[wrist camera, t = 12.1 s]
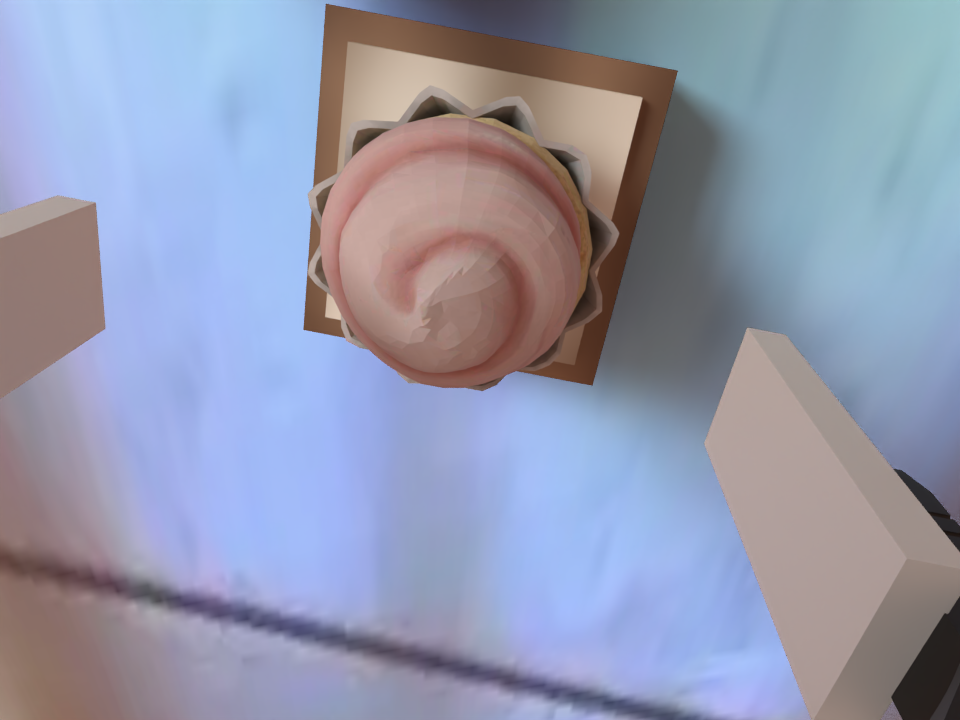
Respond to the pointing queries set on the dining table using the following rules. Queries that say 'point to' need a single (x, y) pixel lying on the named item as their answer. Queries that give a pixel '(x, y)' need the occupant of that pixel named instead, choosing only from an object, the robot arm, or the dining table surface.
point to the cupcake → (460, 241)
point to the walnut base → (480, 81)
